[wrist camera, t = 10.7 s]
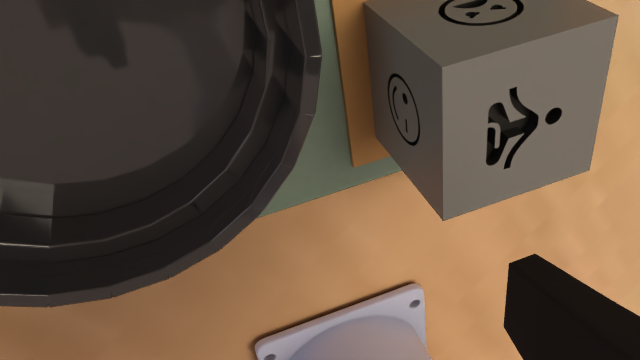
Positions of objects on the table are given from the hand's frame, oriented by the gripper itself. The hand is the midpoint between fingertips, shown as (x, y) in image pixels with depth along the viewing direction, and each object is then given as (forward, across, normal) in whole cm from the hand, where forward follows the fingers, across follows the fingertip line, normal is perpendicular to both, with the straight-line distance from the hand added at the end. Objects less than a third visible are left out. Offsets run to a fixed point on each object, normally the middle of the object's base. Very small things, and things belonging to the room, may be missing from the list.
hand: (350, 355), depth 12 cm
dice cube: (+10, -7, 0) cm, 12 cm away
